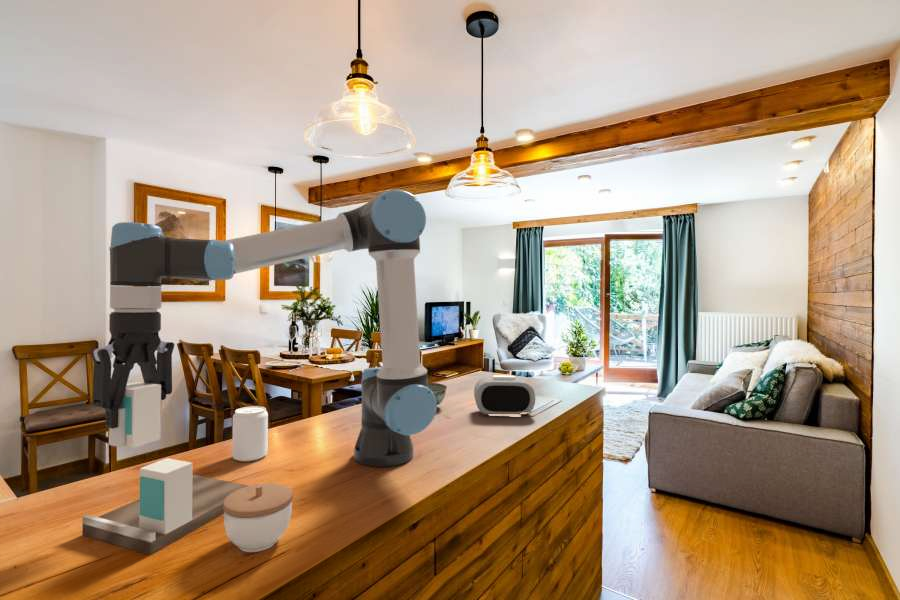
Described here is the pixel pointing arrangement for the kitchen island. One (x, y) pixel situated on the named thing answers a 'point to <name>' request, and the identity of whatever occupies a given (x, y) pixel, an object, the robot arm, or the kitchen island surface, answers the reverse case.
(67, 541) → the kitchen island surface
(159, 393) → the tall carton
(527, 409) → the alarm clock
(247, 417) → the beverage can
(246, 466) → the kitchen island surface
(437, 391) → the bowl
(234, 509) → the lidded jar
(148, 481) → the faced carton
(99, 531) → the shelf board
